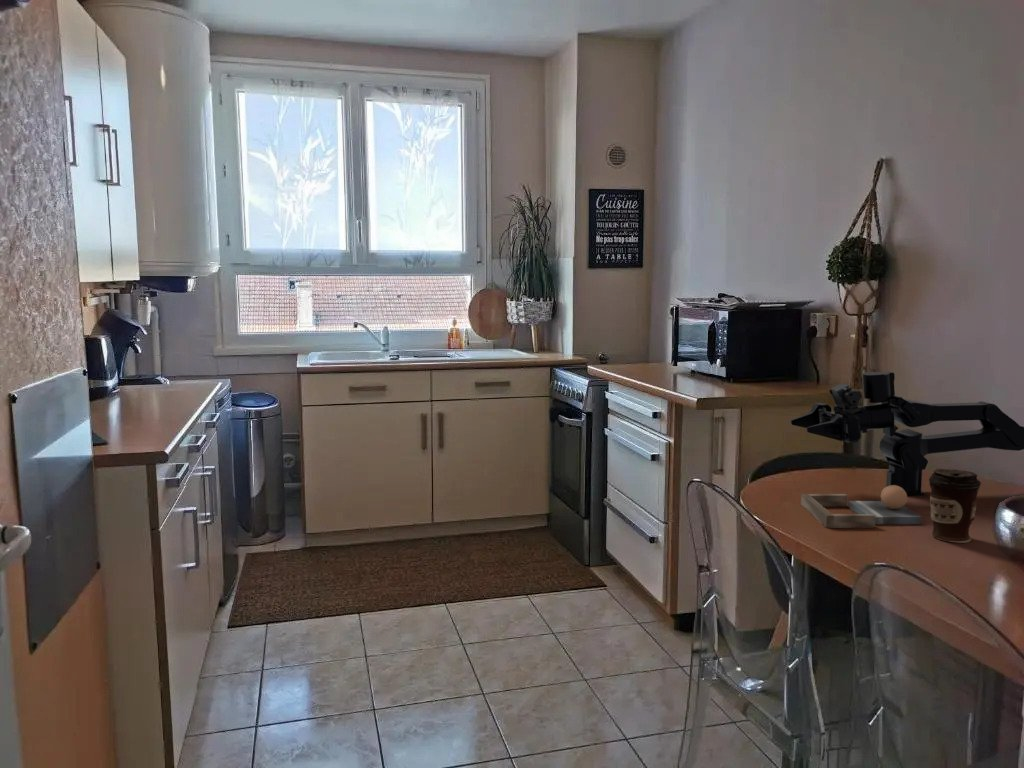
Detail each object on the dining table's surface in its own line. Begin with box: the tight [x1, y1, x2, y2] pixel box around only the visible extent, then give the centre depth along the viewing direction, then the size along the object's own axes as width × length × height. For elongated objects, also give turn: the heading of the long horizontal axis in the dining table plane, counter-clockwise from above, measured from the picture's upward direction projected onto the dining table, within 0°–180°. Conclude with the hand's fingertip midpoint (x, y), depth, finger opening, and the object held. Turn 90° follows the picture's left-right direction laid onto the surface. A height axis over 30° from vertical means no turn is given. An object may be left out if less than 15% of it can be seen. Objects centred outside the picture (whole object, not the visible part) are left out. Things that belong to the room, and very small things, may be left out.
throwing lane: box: [800, 493, 922, 529], centre depth 163 cm, size 20×16×2 cm
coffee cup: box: [928, 468, 982, 544], centre depth 147 cm, size 9×8×13 cm
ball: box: [880, 485, 908, 509], centre depth 162 cm, size 5×5×5 cm
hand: (799, 426), depth 178 cm, fingers open, 9 cm apart
